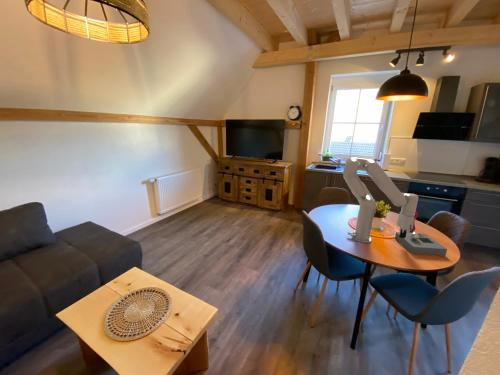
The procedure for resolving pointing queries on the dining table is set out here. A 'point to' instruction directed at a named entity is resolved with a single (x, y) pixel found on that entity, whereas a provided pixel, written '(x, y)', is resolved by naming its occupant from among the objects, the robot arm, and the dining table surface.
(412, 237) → the ball
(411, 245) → the board
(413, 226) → the pepper mill
